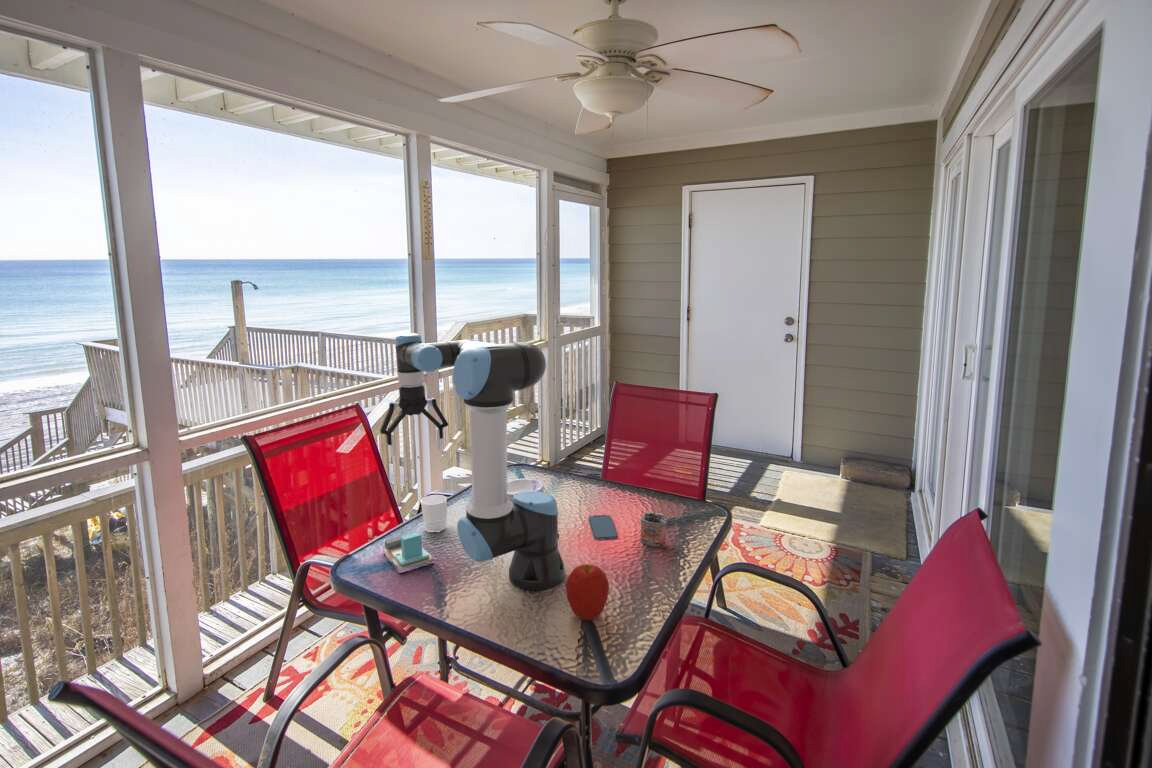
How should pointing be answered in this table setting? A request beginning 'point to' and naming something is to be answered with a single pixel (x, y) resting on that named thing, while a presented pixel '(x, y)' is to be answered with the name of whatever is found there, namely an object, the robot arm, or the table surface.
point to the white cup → (434, 512)
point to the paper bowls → (523, 487)
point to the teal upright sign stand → (411, 549)
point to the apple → (587, 591)
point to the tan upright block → (653, 529)
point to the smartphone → (602, 527)
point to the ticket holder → (395, 549)
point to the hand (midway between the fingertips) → (416, 451)
